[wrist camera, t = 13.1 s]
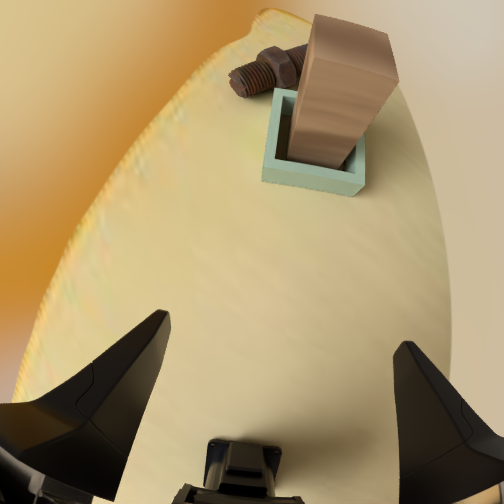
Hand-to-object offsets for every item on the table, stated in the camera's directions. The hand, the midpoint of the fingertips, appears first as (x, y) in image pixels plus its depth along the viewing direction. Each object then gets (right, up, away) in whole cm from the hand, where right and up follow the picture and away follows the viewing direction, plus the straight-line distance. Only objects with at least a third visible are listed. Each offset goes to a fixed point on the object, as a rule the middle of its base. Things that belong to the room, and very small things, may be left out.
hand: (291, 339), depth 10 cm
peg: (+4, +12, +14) cm, 19 cm away
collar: (+4, +12, +14) cm, 19 cm away
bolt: (+3, +22, +16) cm, 27 cm away
